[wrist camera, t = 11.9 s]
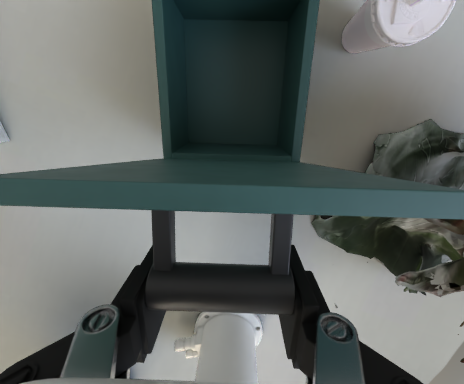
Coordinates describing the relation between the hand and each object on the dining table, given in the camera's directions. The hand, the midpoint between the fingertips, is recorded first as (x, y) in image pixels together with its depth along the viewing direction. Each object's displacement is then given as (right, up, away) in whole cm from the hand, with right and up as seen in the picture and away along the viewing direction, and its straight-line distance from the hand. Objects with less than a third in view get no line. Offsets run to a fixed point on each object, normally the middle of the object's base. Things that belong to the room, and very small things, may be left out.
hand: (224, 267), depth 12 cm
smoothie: (+15, +23, +15) cm, 31 cm away
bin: (+1, +17, +17) cm, 25 cm away
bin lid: (0, +6, +2) cm, 6 cm away
